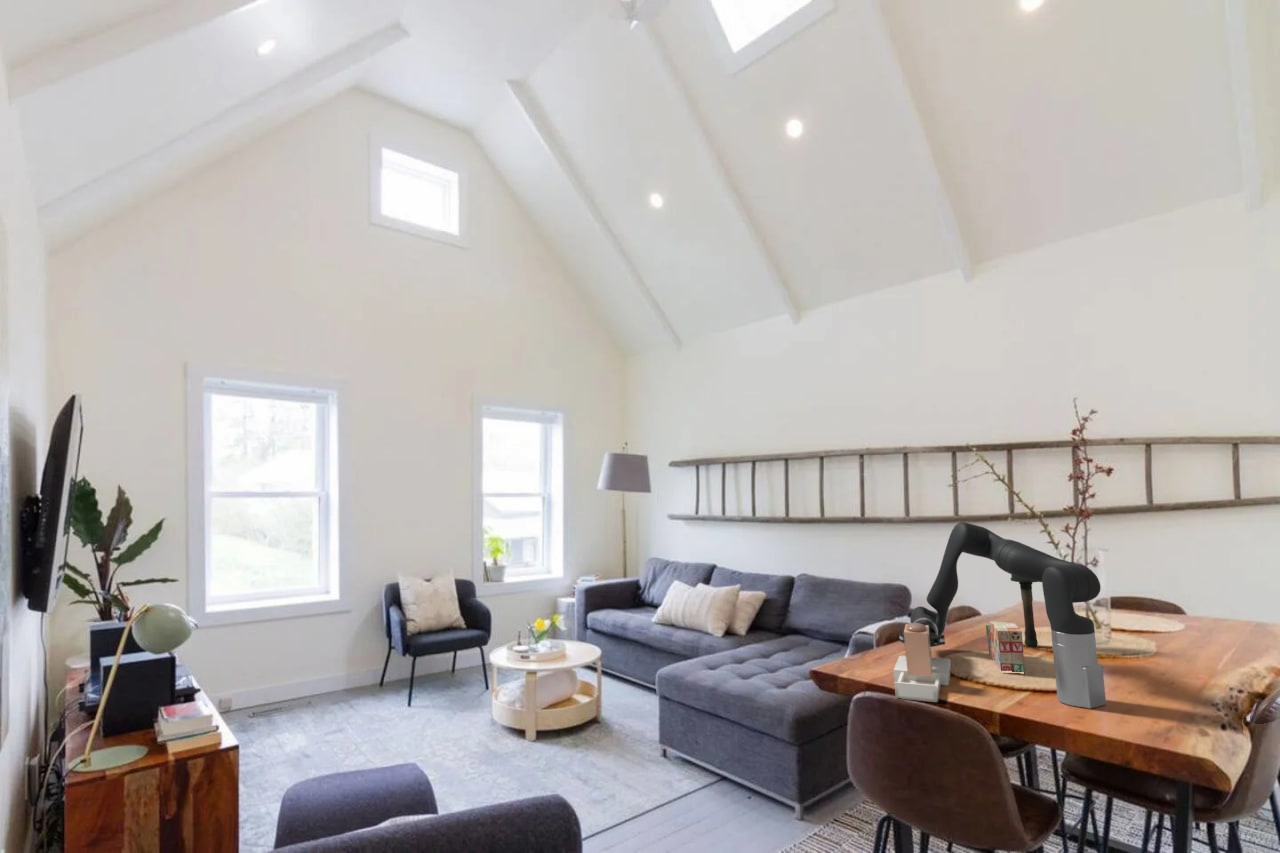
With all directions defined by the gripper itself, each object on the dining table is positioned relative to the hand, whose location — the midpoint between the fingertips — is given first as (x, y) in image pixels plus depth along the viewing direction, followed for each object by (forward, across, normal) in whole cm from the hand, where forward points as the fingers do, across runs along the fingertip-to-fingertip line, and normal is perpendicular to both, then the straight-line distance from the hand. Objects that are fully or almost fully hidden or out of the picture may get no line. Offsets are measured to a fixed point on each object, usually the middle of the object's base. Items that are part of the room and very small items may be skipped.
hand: (919, 645), depth 189 cm
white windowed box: (-5, 0, +10) cm, 11 cm away
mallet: (-48, +29, +10) cm, 57 cm away
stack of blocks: (-24, +22, +10) cm, 34 cm away
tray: (+11, 0, +10) cm, 14 cm away
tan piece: (+2, 0, +6) cm, 7 cm away
